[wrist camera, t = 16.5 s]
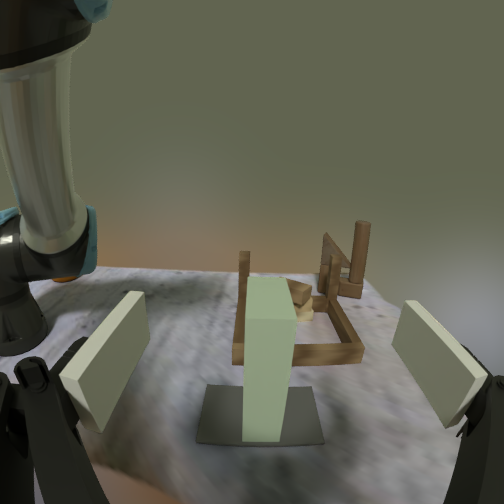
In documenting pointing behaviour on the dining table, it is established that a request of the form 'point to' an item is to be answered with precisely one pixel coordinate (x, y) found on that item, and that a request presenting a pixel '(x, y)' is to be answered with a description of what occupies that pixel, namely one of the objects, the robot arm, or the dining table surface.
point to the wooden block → (347, 262)
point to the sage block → (267, 357)
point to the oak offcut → (303, 306)
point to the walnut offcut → (299, 291)
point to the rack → (314, 353)
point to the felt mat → (231, 418)
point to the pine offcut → (304, 316)
